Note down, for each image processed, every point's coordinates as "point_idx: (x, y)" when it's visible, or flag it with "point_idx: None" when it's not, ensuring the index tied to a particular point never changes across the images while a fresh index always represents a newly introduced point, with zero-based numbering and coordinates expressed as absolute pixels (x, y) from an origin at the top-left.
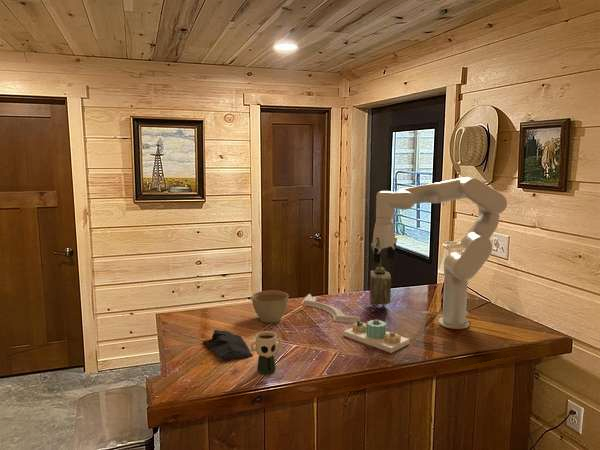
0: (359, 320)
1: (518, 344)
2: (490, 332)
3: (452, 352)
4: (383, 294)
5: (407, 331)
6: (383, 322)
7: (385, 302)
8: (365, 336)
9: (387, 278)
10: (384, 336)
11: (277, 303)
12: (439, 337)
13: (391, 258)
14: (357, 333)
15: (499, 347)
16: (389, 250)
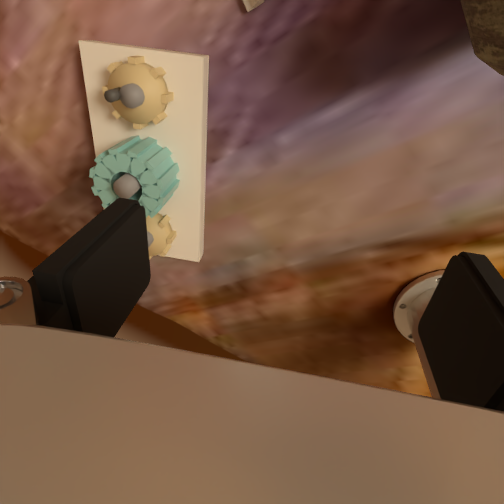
0: (252, 2)
1: None
2: (418, 384)
3: (231, 341)
4: (482, 39)
5: (291, 216)
6: (153, 204)
7: (473, 47)
8: (109, 145)
9: None
10: None
11: None
12: (304, 301)
13: (424, 317)
14: (106, 105)
15: None
16: (488, 386)
